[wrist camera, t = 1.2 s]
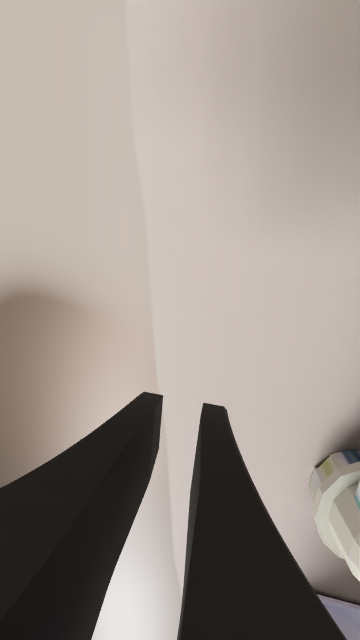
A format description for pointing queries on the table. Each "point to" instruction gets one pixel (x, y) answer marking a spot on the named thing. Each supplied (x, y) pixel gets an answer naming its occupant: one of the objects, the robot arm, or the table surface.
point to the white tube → (339, 505)
